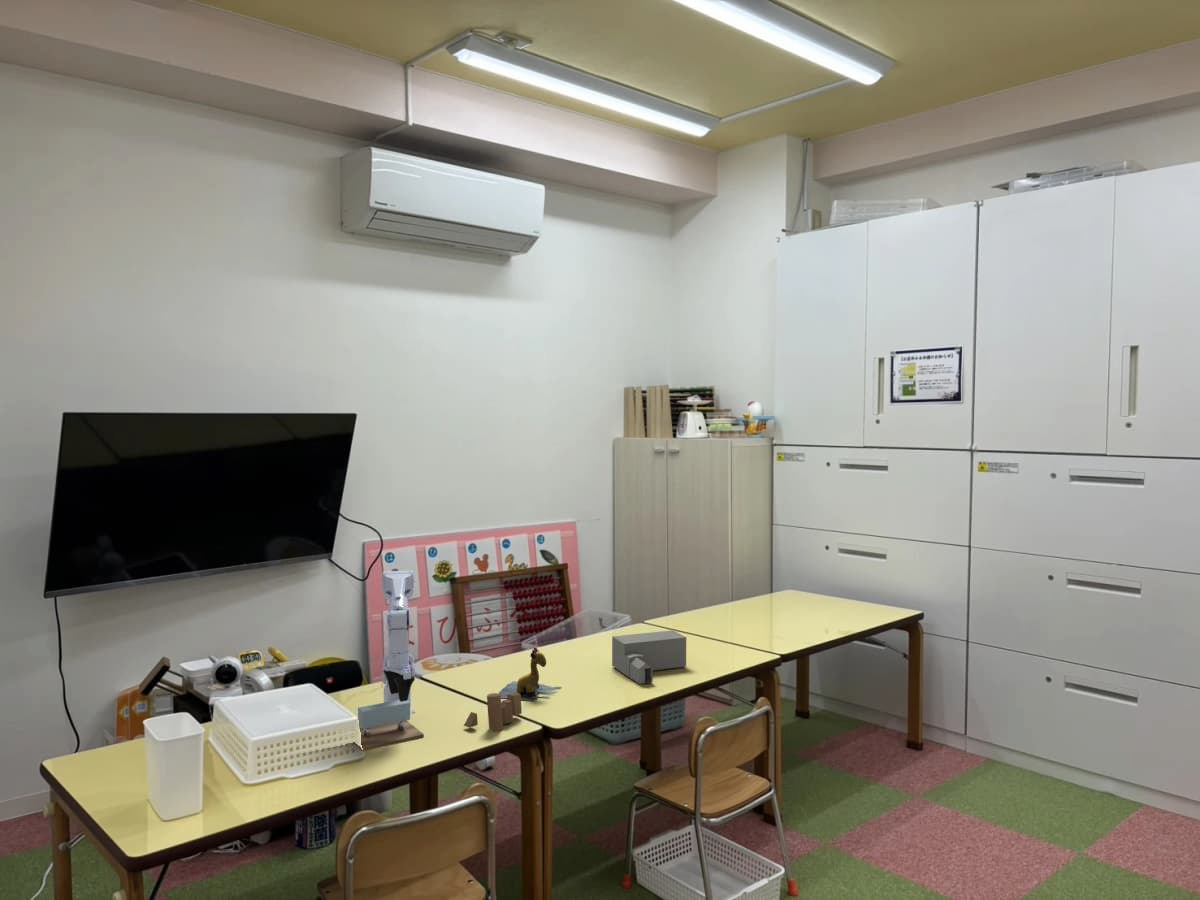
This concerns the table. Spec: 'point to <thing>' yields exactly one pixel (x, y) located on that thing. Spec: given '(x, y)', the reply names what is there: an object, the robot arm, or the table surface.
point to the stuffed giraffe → (530, 681)
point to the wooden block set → (498, 711)
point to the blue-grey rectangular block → (383, 713)
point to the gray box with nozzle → (648, 653)
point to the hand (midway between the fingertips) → (399, 697)
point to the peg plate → (388, 734)
